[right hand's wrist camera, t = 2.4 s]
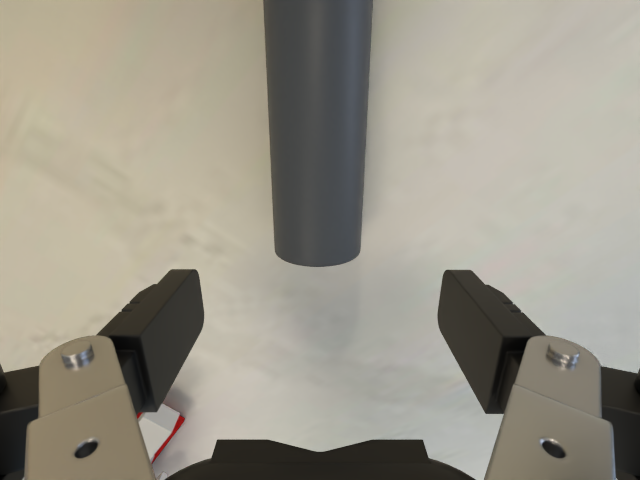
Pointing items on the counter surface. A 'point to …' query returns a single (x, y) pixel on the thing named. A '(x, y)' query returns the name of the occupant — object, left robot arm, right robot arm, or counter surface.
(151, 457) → the toy
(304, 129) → the rod
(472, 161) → the counter surface
